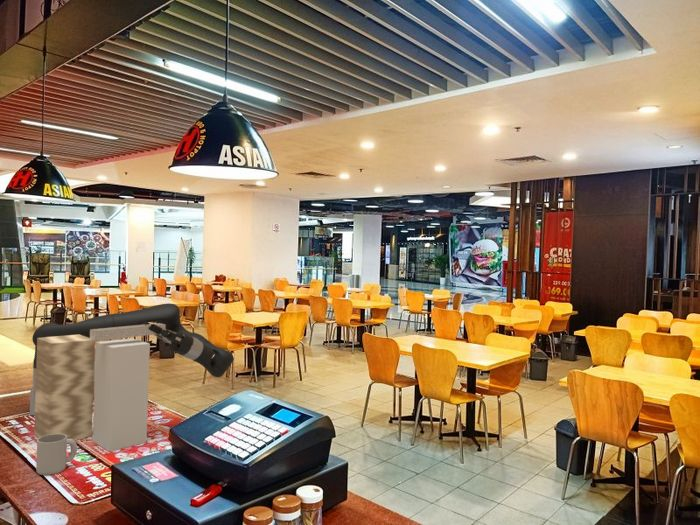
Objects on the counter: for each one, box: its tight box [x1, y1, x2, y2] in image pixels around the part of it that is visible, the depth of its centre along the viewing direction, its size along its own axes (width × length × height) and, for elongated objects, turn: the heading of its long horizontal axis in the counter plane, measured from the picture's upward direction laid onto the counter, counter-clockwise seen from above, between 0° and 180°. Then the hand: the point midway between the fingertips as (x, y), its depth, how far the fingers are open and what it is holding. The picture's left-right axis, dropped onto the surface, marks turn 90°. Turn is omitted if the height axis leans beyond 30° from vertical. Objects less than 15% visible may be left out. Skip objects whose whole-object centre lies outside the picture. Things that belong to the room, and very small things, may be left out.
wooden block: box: [90, 323, 166, 342], centre depth 168 cm, size 23×4×3 cm, turn 138°
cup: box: [35, 434, 78, 476], centre depth 145 cm, size 7×10×9 cm
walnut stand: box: [33, 334, 96, 441], centre depth 170 cm, size 13×13×32 cm
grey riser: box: [92, 338, 151, 453], centre depth 167 cm, size 12×12×32 cm
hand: (147, 325), depth 172 cm, fingers closed on wooden block, 4 cm apart
